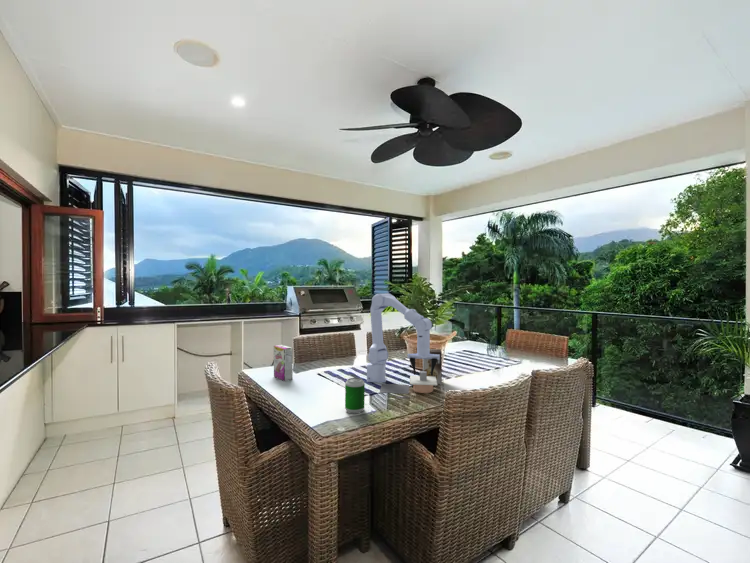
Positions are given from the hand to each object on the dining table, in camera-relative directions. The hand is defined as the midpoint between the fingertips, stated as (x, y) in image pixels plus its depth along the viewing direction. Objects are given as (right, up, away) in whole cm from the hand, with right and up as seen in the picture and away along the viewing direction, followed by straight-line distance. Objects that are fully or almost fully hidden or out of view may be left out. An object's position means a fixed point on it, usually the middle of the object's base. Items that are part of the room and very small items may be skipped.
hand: (423, 374), depth 161 cm
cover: (0, -3, 0) cm, 3 cm away
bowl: (0, -7, 0) cm, 7 cm away
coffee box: (+6, -8, +12) cm, 16 cm away
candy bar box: (-69, -7, +19) cm, 72 cm away
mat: (-13, -7, +1) cm, 15 cm away
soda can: (-30, -8, -25) cm, 40 cm away
